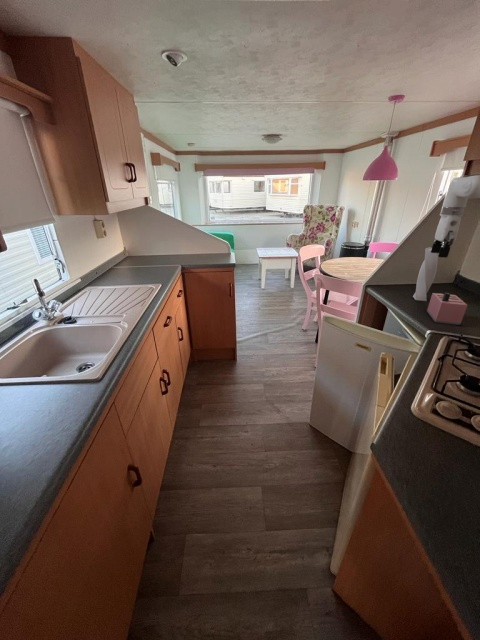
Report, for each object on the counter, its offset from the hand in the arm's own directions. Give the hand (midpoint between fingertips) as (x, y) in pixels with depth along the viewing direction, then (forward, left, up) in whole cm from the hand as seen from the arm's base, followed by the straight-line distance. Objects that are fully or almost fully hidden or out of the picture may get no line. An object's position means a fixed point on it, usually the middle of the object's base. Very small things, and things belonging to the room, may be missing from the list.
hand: (438, 254), depth 114 cm
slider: (-5, +8, -17) cm, 20 cm away
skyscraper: (-4, -19, -27) cm, 33 cm away
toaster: (-7, +5, -26) cm, 28 cm away
